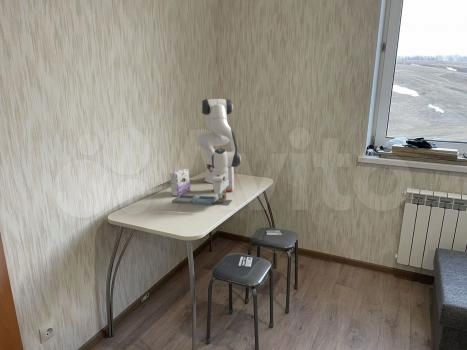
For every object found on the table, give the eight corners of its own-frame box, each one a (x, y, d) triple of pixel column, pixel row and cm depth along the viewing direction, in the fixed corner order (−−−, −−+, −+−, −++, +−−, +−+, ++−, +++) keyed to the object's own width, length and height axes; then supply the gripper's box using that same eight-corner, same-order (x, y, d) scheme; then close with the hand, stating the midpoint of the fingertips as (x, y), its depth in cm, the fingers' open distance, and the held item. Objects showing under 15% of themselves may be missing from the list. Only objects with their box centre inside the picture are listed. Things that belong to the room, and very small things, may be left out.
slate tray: (199, 198, 232) (199, 195, 231) (216, 199, 229) (216, 196, 228) (192, 204, 221) (192, 201, 220) (210, 205, 217) (210, 202, 217)
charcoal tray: (180, 197, 236) (179, 194, 235) (196, 198, 232) (196, 195, 232) (172, 203, 224) (172, 200, 224) (189, 204, 221) (189, 201, 221)
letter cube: (220, 198, 223) (220, 192, 222) (226, 198, 222) (226, 192, 221) (218, 200, 220) (218, 194, 219) (224, 200, 219) (224, 194, 217)
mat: (217, 200, 227) (217, 199, 227) (232, 201, 225) (232, 199, 225) (212, 205, 218) (212, 204, 218) (228, 206, 215) (227, 205, 215)
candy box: (184, 190, 252) (182, 168, 248) (190, 191, 249) (189, 169, 245) (171, 195, 241) (169, 172, 236) (178, 196, 238) (176, 173, 233)
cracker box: (213, 191, 246) (211, 162, 241) (215, 189, 252) (214, 160, 247) (232, 192, 243) (231, 163, 238) (234, 189, 249) (233, 161, 243)
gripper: (221, 171, 227) (222, 191, 231) (211, 179, 208) (212, 201, 212) (230, 171, 226) (231, 191, 229) (221, 179, 207) (222, 201, 210)
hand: (222, 196), depth 220 cm, fingers closed on letter cube, 4 cm apart
